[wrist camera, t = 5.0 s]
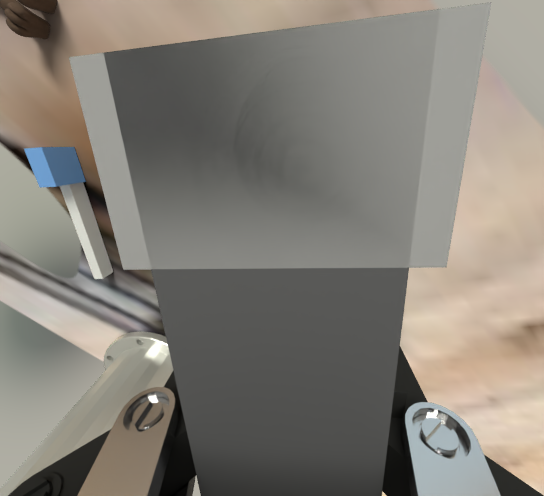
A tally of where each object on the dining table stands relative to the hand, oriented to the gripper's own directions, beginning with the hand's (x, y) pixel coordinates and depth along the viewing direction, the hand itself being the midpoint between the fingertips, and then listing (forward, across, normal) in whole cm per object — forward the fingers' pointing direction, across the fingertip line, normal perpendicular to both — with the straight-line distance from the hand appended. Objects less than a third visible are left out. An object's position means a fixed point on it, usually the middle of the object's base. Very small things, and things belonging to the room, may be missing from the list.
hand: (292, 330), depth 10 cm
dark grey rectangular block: (0, 0, 0) cm, 0 cm away
